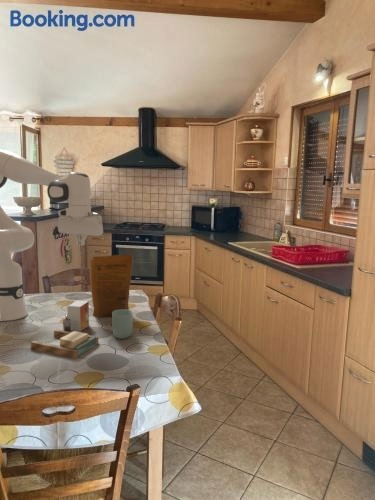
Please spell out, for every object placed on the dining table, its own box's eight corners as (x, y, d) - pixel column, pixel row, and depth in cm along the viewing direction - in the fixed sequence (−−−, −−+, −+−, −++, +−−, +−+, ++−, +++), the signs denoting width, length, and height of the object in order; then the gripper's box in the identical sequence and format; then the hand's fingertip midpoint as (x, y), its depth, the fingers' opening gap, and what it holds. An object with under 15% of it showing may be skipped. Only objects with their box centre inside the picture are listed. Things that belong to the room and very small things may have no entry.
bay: (30, 348, 140) (30, 340, 140) (56, 335, 153) (56, 327, 153) (75, 358, 134) (75, 349, 133) (98, 343, 147) (98, 335, 146)
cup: (113, 341, 149) (113, 316, 147) (111, 333, 156) (111, 309, 154) (133, 339, 151) (133, 314, 149) (131, 332, 158) (131, 308, 156)
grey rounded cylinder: (61, 334, 154) (61, 315, 152) (66, 332, 156) (65, 313, 155) (67, 336, 153) (67, 316, 151) (72, 333, 155) (72, 314, 154)
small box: (80, 332, 157) (80, 306, 155) (67, 330, 158) (67, 305, 156) (89, 325, 165) (89, 301, 163) (77, 324, 166) (76, 300, 164)
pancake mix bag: (133, 316, 177) (133, 255, 172) (90, 319, 172) (89, 256, 167) (131, 311, 183) (132, 252, 179) (89, 314, 178) (88, 253, 174)
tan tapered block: (60, 352, 139) (59, 338, 138) (74, 343, 146) (74, 331, 145) (73, 355, 137) (73, 341, 136) (88, 346, 144) (87, 333, 143)
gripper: (105, 212, 162) (106, 245, 164) (64, 210, 169) (65, 242, 171) (97, 213, 156) (97, 248, 158) (55, 211, 163) (56, 244, 165)
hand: (80, 245), depth 165 cm, fingers closed
